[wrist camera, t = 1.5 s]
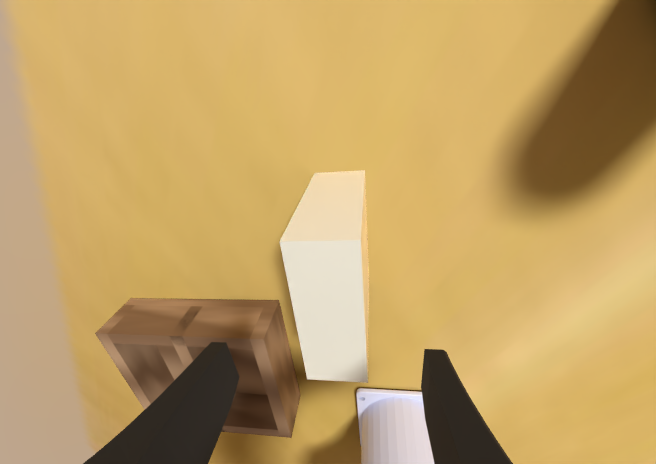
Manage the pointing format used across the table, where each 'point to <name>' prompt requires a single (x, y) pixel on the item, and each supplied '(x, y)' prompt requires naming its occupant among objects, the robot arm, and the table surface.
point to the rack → (192, 338)
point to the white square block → (330, 276)
